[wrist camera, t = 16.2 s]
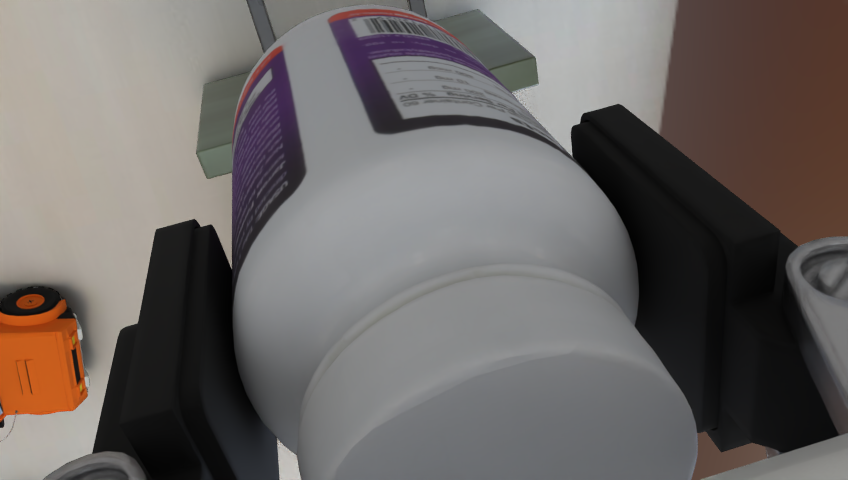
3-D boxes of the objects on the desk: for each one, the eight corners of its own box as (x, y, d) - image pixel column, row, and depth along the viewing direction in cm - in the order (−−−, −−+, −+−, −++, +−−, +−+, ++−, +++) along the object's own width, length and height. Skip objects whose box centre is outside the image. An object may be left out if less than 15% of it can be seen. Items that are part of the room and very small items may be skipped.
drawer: (153, -41, 30) (131, 2, 24) (458, -120, 31) (517, -100, 25) (295, 320, 41) (307, 418, 35) (517, 253, 42) (569, 335, 36)
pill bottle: (325, 280, 17) (405, 726, 9) (175, 93, 14) (86, 503, 6) (527, 162, 16) (812, 516, 8) (417, -58, 13) (689, 157, 5)
